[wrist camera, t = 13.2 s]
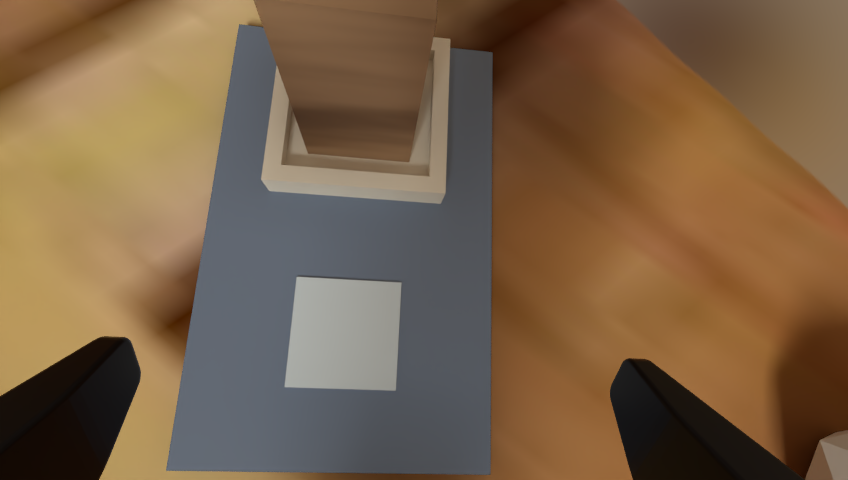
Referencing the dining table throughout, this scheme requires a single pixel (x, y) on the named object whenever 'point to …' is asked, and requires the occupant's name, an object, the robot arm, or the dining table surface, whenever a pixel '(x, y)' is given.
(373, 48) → the pillar
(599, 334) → the dining table surface
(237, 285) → the board
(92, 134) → the dining table surface
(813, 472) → the die
